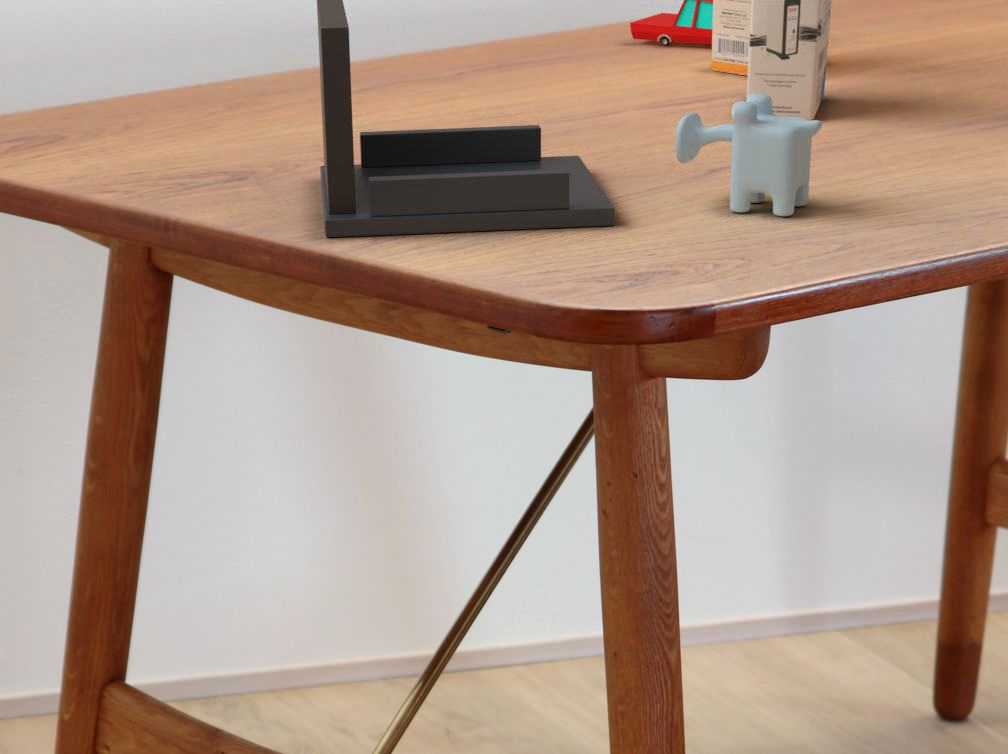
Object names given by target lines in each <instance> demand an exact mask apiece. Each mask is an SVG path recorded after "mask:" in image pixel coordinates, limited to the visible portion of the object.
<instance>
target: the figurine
mask: <svg viewBox="0 0 1008 754" xmlns="http://www.w3.org/2000/svg"><path fill="white" fill-rule="evenodd" d="M730 113H731V117H732V119H731V120H732V124H729V123H722V124H718V125H713V126H705V125H704V124H703V123H702V119H701V116H700V115H699V114H698V113H697V112H690V113H688V114H686V115H684V116H683V117H682V118H681V119H679V121H678V124H677V126H676V130H675V140H674V141H675V142H674V143H675V145H674V147H675V148H674V149H675V157H676V159H677V161H678V162H679V163H681V164H687V163H690V162H691V161H693V160H694V159H696V158H697V157H698V155H699V154H700V153H699V152H700V151H701V149H702V148H703V147H705V146H707V145H710V144H713V143H717V142H732V143H731V164H730V165H731V167H730V168H731V169H730V192H729V210H730V211H731V212H734V213H747V212H749V211H750V210H751V207H752V203H762V202H764V201H765V199H766V195H767V196H769V197H770V198H771V200H772V213H773V215H775V216H778V217H789V216H792V215H793V214H794V213H795V207H804V206H806V205H808V203H809V191H810V175H811V159H812V140H813V137H815V136H816V135H817V133H819V132H820V130H821V129H822V127H823V122H822V121H821V120H818V119H813V120H807V119H805V118H799V117H787V116H779V115H775V114H774V113H773V112H772V99H771V97H770V96H768V95H766V94H761V93H754V94H751V95H749V97H748V100H747V101H746V100H738V101H736V102H734V103H733V105H732V108H731V112H730Z"/></svg>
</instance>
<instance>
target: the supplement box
mask: <svg viewBox="0 0 1008 754" xmlns="http://www.w3.org/2000/svg"><path fill="white" fill-rule="evenodd" d="M751 6H752V0H713V32H712V44H711V69H712V71H715V72H719V73H720V72H721V73H727V74H732V75H733V74H734V75H740V76H747V77H748V61H749V44H750V26H751Z"/></svg>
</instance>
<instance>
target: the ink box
mask: <svg viewBox="0 0 1008 754" xmlns="http://www.w3.org/2000/svg"><path fill="white" fill-rule="evenodd" d="M831 12H832V0H752V6H751V26H750V44H749V61H748V76H747V79H746V80H747V81H746V99H745V101H747V100H748V97H749V95H751V94H754V93H761V94H766V95H768V96H770V97H771V99H772V112H773V113H774V114H775V115H779V116H787V117H799V118H805V119H807V120H815V117H816V115H817V112H818V110H819V108H820V105H821V102H822V100H823V99H824V94H825V85H826V73H827V63H828V62H827V61H828V49H829V48H828V47H829V36H830V24H831Z"/></svg>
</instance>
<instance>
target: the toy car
mask: <svg viewBox="0 0 1008 754" xmlns="http://www.w3.org/2000/svg"><path fill="white" fill-rule="evenodd" d="M629 24H630V26H629V27H630V34H631V36H632V39H633V40H640V41H641V40H643V41H657V42H661V44H662V46H664V47H667V46H669V45H670V43H672V42H673V43H687V44H688V43H689V44H704V45H712V32H713V0H683V1H682V4H681V6H680V8H679V10H678V12H677V13H670V12H669V13H668V12H660V13H657V14H654V15H653V14H652V15H651V16H647V17H644V18H642V19H637V20H635V21H631V22H630V23H629Z"/></svg>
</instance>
